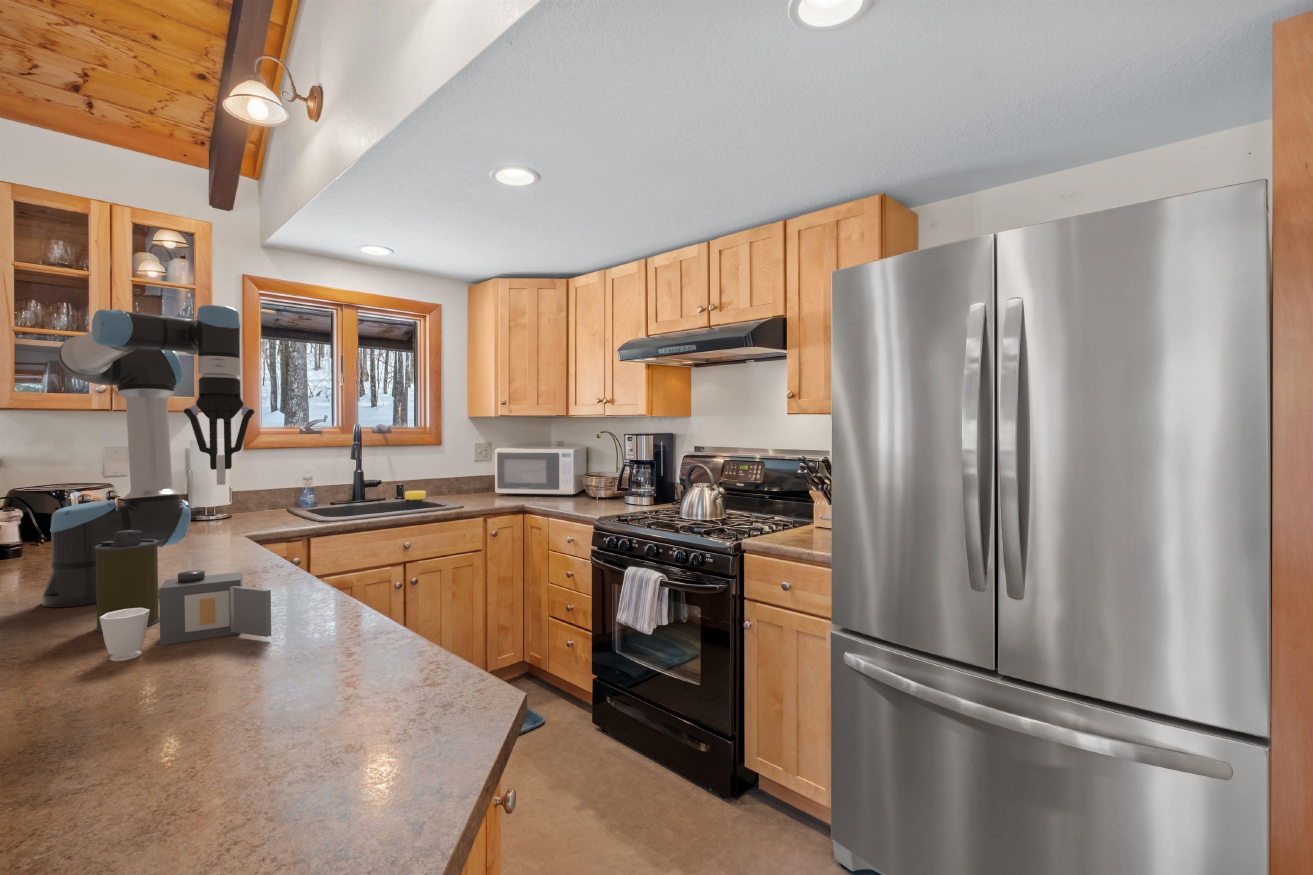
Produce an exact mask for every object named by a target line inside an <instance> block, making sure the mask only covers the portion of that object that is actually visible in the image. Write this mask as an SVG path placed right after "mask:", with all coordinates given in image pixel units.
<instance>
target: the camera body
mask: <svg viewBox="0 0 1313 875" xmlns="http://www.w3.org/2000/svg"><path fill="white" fill-rule="evenodd" d="M243 578H244V577H243V571H238V572H229V573H220V574H209V575H206V571H205V570H203V569H194V570H187V571H182V572H179V573H177V578H170V579H165V580H164V581H163V583H162V584H161V586H160V587H158V603H159V617H160V621H159V642H160V643H159V645H160V646H164V645H172V644H177V643H178V644H179V643H185V642H192V641H199V640H205V639H206V640H207V639H213V638H219V637H226V636H227V637H229V636H232V635H233V636H234V635H240V634H241V635H242V633H236V632H231V618H230V587H231V586H241V587H244V582H243V581H244V580H243Z"/></svg>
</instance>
